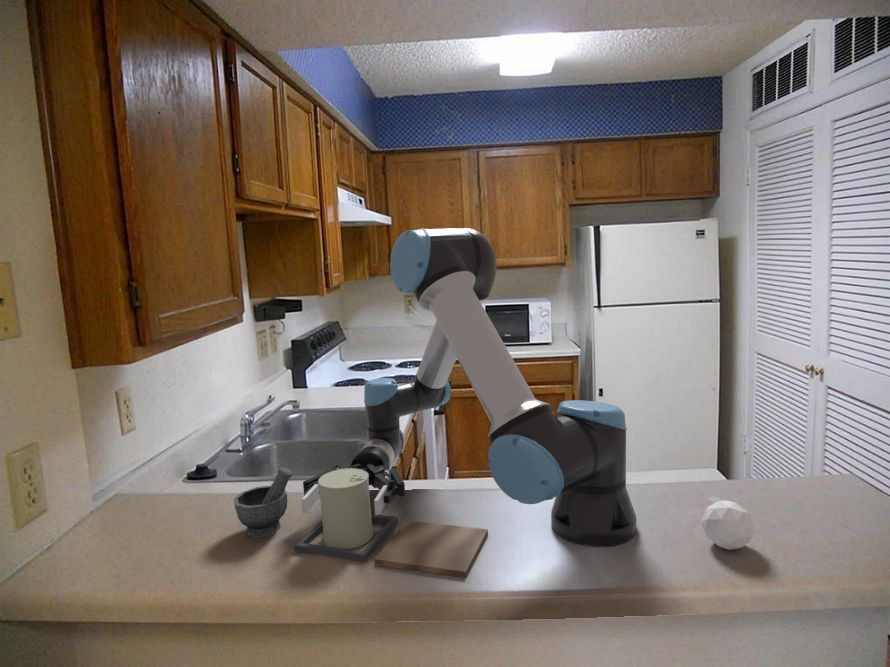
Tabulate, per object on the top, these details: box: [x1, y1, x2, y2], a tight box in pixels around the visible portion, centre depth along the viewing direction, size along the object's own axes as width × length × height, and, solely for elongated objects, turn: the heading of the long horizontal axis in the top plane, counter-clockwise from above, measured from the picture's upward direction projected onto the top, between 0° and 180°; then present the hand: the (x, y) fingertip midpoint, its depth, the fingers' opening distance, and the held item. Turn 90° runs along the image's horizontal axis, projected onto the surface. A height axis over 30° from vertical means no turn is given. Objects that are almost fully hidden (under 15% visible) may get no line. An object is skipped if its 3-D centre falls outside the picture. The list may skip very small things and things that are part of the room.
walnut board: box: [373, 519, 489, 578], centre depth 99 cm, size 16×14×1 cm
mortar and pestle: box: [233, 466, 293, 539], centre depth 109 cm, size 11×9×12 cm
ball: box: [701, 500, 756, 551], centre depth 95 cm, size 8×8×8 cm
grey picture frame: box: [293, 513, 399, 562], centre depth 105 cm, size 14×14×1 cm
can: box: [318, 467, 374, 550], centre depth 104 cm, size 9×9×12 cm
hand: (339, 507), depth 101 cm, fingers open, 13 cm apart
